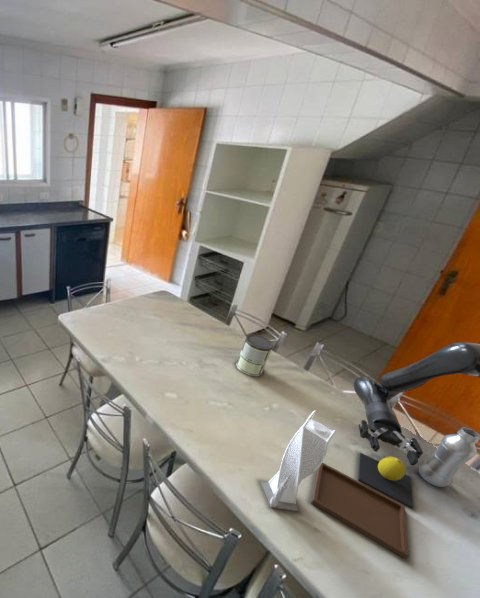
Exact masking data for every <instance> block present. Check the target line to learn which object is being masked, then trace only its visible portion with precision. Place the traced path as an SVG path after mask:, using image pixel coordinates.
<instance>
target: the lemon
mask: <svg viewBox="0 0 480 598" xmlns="http://www.w3.org/2000/svg"><path fill="white" fill-rule="evenodd" d="M378 470H379V472H380V474H381V475H382V476H383V477H384V478H386V479H388V480H392V481H397V480H400V479H401V478H402V477H403V476H404V475H406V471H407V468H406V465H405V463H404V462H403V461H402V460H401V459H399V458H398V457H395V456H385V457H383V458H381V459H380V460H379V464H378Z"/></svg>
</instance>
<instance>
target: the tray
mask: <svg viewBox="0 0 480 598" xmlns="http://www.w3.org/2000/svg"><path fill="white" fill-rule="evenodd" d="M311 496H312V497H311V505H313V506H315V507H317V508H318V509H320V510H322V511H324V512H325V513H327V514H329V515H330V516H332V517H334V518H335V519H337V520H338V521H340V522H342V523H344V524H345V525H347V526H348V527H350V528H352V529H354V530H356V531H357V532H359V533H360V534H362V535H364V536H366V537H367V538H369V539H370V540H372V541H374V542H376V543H377V544H379V545H381V546H382V547H384V548H386V549H387V550H389V551H391V552H392V553H394V554H396V555H398V556H399V557H401V558H403V559H404V560H406V559H408V558H409V556H410V554H409V543H408V542H409V541H408V529H407V518H406V505H404V504H402V503H401V502H399V501H397V500H395V499H393V498H391V497H389V496H387V495H385V494H383V493H381V492H380V491H378V490H376V489H374V488H372V487H370V486H368V485H366V484H364V483H362V482H361V481H359V480H356V479H355V478H353V477H351V476H349V475H347V474H345V473H343V472H341V471H340V470H337V469H335V468H334V467H331V466H330V465H328V464H326V463H324V462H322V464H321V466H320V467H319V468H318V469H317V470H316V476H315V481H314V486H313V491H312V495H311Z"/></svg>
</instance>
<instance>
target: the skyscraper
mask: <svg viewBox="0 0 480 598" xmlns="http://www.w3.org/2000/svg"><path fill="white" fill-rule="evenodd" d="M316 413H317V410H313V411H312V412H311V413H310V414H309V416H308V418H306V420H305V421H304V423H303V424H302V425H301V426H300V428H299V429H298V430H297V431H296V432H295V434H294V435H293V437H292V438H291V439H290V441H289V443H288V444H287V446H286V449H285V451H284V453H283V456H282V459H281V463H280V466H279V469H278V471H277V473H275V474H274V475H273V476H272V477H271V478H270V480H268V482H267V481H260V484H261V487H262V489H263V492H264V494H265V496H266V499H267V501H268V504H269V507H270V508H272V509H279V510H285V511H293V512H299V509H298V506H297V497H298V491H299V486H300V484H301V482H302V481H303V480H305V479H306V478H308V477H310V476H311V475H313V474H314V473H315V472H317V469H318V468H319V467H320V466H321V464H322V463H324V460H325V458H326V455H327V452H328V448H329V443H330V441H331V440H332V438H333V437H334V436H335V434H336V433H337V431H336V429H333V430H332V429H330V428H329V427H327V426H325V425H324V424H322V423H321V422H318V421H317V420H315V419H314V416H315V414H316Z"/></svg>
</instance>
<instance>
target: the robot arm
mask: <svg viewBox="0 0 480 598" xmlns="http://www.w3.org/2000/svg"><path fill="white" fill-rule="evenodd" d="M457 374H458V375H466V376H474V377H477V378H479V379H480V343H474V342H467V341H466V342H464V341H461V342H460V341H459V342H454V343H450V344H448V345H445V346H444V347H442V348H440V349H438V350H436V351H435V352H433V353H432V354H430V355H428V356H425V357H424V358H422V359H420V360H418V361H416V362H414V363H412V364H409V365H407V366H404V367H401V368H397V369H395V370H393V371H389V372H386V373H384V374H382V375H381V376H380V377H379V381H377V380H375V379H374V378H372V377H371V376H367V375H362V376H359V377H357V378H356V379H355V380H354V382H353V390H354V392H355V394H356V395H357V397H358V398H359V400H360V401H361V402H362V404H363V407H364V410H365V416H366V419H367V421H366V420H365V419H362V420H361V421H360V423H359V424H358V431H359V436H360V438H362V439H366V440H367V441H368V443H369V446H370V448H371V449H372V450H373V451H374V452H376V453H377V452H378V451H379V449H380V448H381V446H380V442H379V440H380V441H381V442H383V443H386V444H389V445H391V446H394V447H395V448H396V449H397V450H398V451H400V452H403V453H404V454H405V456H406V458H407V461H408V464H409V465H410V466H412V467H414V466H416V465H417V464H418V463H419V461H420V460H419V459H420V457H421V456H422V455H423V454H424V451H423V449H422V447H421V445H420V442H419V441H418V439H416V438H415V437H411V438H408V437H406V436H405V435H404V433H402V427H401V424H400V422H399V419H398V417H397V415H396V413H395V411H394V410H393V407H392V405H391V402H390V400H392V399H393V398H395V397H397V396H398V395H399V394H402V393H405V392H408V391H412V390H416V389H419V388H421V387H423V386H425V384H427V383H429V382H430V381H432V380H434V379H436V378H441V377H445V376H451V375H457ZM369 431H370V432H371V433H370V432H369ZM407 449H408V450H407Z"/></svg>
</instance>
